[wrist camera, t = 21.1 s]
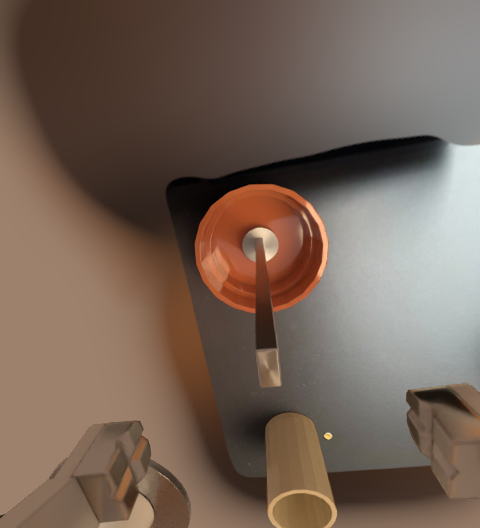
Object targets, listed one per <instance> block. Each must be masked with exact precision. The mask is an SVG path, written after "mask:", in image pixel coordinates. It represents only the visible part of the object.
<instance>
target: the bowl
mask: <svg viewBox="0 0 480 528" xmlns="http://www.w3.org/2000/svg"><path fill="white" fill-rule="evenodd" d="M260 225H261V226H266V227H268V228H270V229H271V230H272V231H273V232H274V233H275V235H276V237H277V240H278V250H277V253H276V254H275V256H274V257H273V258H272V259H270V260H269V261H267V262H266V263H267V270H268V278H269V285H270V292H271V299H272V306H273V312H275V311H279V310H283V309H286V308H289V307H291V306H293V305H294V304H296V303H297V302H299V301H300V300H302V299H304V298H305V297H306V296H307V295H308V294H309V293H310V292H311V291H312V290H313V288H314V287H315V286H316V285H317V284H318V283H319V281H320V278H321V276H322V274H323V271H324V269H325V267H326V264H327V257H328V245H329V243H328V238H327V234H326V230H325V226H324V223H323V221H322V219H321V218H320V216H319V215H318V213H317V212H316V210H315V209H314V207H313V206H312V205H311V204H310V203H309V202H308V201H306V200H305V199H304V198H302V197H301V196H300V195H298V194H297V193H296V192H294V191H292V190H289V189H286V188H283V187H280V186H277V185H274V184H250V185H247V186H244V187H241V188H238V189H236V190H233V191H230V192H228V193H227V194H225V195H224V196H223V197H222V198H220V199H219V200H218V201H217V202H215V203H214V204H213V205H212V206H211V207H210V209H209V210H208V212H207V213H206V215H205V216H204V218H203V219H202V221H201V222H200V224H199V228H198V232H197V236H196V240H195V255H196V265H197V267H198V270H199V272H200V274H201V277H202V279H203V282H204V283H205V284H206V285H207V286H208V288H209V289H210V290H211V291H212V292H213V294H214V295H215V296H216V297H217V298H219V299H220V300H222V301H223V302H225V303H226V304H228V305H230V306H231V307H233V308H236V309H240V310H243V311H246V312H250V313H255V291H256V262H254V261H251V260H250V259H248V258H247V257H246V255H245V254H244V252H243V249H242V241H243V237H244V235H245V233H246V232H247V231H248V230H249V229H250V228H252V227H254V226H260Z"/></svg>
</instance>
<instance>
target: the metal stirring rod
mask: <svg viewBox="0 0 480 528" xmlns="http://www.w3.org/2000/svg"><path fill="white" fill-rule="evenodd" d="M242 249H243V252H244V254H245V255H246V257H247V258H248V259H250V260H251V261H254V262H256V291H255V353H256V360H257V367H258V375H259V382H260V386H261V387H277V386H281V385H282V378H281V369H280V359H279V350H278V342H277V335H276V328H275V321H274V314H273V306H272V299H271V292H270V285H269V278H268V270H267V263H266V262H267V261H269V260H270V259H272V258H273V257H274V256H275V254H276V253H277V250H278V240H277V237H276V235H275V233H274V232H273V231H272V230H271V229H270V228H268V227H266V226H261V225H260V226H254V227H252V228H250V229H249V230H248V231H247V232H246V233H245V235H244V237H243V241H242Z"/></svg>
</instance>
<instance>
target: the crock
mask: <svg viewBox="0 0 480 528" xmlns="http://www.w3.org/2000/svg"><path fill="white" fill-rule="evenodd" d="M265 455H266V481H267V509H268V516H269V519H270V521H271V523H272V524H274V525H275V526H276V527H277V528H330V527H331V526H332V524H333V523H334V522H335V520H336V516H337V510H336V506H335V502H334V498H333V494H332V490H331V486H330V482H329V478H328V474H327V469H326V465H325V461H324V457H323V453H322V449H321V445H320V441H319V437H318V434H317V430H316V427H315V425H314V423H313V422H312V421H311V420H310V419H309V418H308V417H306V416H304V415H302V414H299V413H293V412H288V413H282V414H279V415H277V416H275V417H273V418H272V419H271V420H270V421H269V422H268V423H267V425H266V428H265Z"/></svg>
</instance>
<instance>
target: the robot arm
mask: <svg viewBox="0 0 480 528" xmlns="http://www.w3.org/2000/svg"><path fill="white" fill-rule="evenodd" d="M406 401H407V403H408V404H409V405H410V407H411V409H410V410H409V411H408V412H407V423H408V427H409V430H410V433H411V436H412V438H413V440H414V442H415V444H416V445H417V447H418V449H419V450H420V452H421V453H423V454H424V455H425V456H427V457H428V458H430V459H431V464H432V471H433V473H434V474H435V476H436V478H437V479H438V481H439V482H440V484H441V486H442V487H443V488H444V490H445V492H446V494H447V495H448V497H449V498H450V499H475V498H480V393H479V392H478V391H477V390H476V389H475V388H474V387H473V386H472V385H470V384H467V383H461V384H453V385H446V386H436V387H428V388H420V389H411V390H408V391H407V393H406ZM142 432H143V427H142V424H141V422H140V421H125V422H112V423H105V424H94V425H93V426H91V427H90V428H88V430H87V431H86V433H85V434H84V435H83V437H82V438H81V440H80V441H79V442H78V444H77V445H76V447H75V448H74V450H73V451H72V453H71V454H70V456H69V457H68V458H67V460H66V461H65V462H64V464H63V465H62V467H61V468H60V470H59V471H58V473H57V474H56V475H55V477H54V478H53V479H49V480H47V481H46V482H45V483H43V484H42V485H41V486H39V487H38V488H37V489H36V490H35V491H33V492H32V493H31V494H30V495H28V496H27V497H26V498H25V499H23V500H22V501H21V502H20V503H18V504H17V505H16V506H15V507H14V508H13V509H11V510H10V511H9V512H7V513H6V514H4V515H1V516H0V528H150V527H151V525H152V523H153V521H154V511H153V508H152V506H151V504H150V503H149V501H148V500H147V499H146V498H145V497H144V496H143V495H141V494H140V493H139V489H138V483H139V482H140V481H141V480H142V479H143V478H144V477H145V476H146V473H147V470H148V468H149V464H150V457H151V450H150V444H149V441H148V439H146V438H145V437H143V436H142V435H141V434H142Z"/></svg>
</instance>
